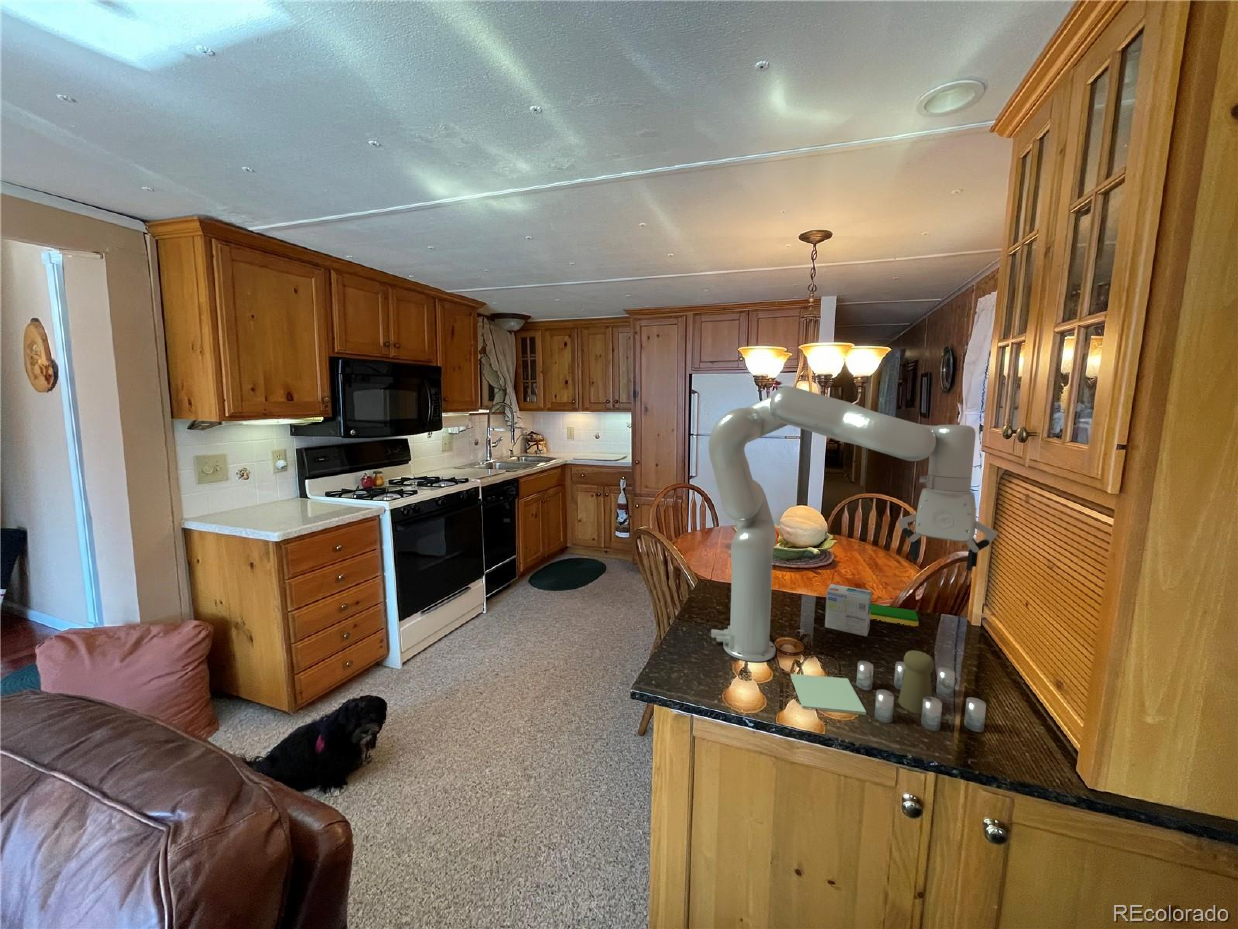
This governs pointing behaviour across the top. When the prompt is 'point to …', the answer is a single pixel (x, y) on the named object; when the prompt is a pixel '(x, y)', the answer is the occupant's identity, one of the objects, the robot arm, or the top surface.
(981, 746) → the top surface
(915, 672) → the olive rounded piece
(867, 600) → the light bulb box
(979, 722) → the spacer field
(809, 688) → the mat
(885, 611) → the dish sponge
